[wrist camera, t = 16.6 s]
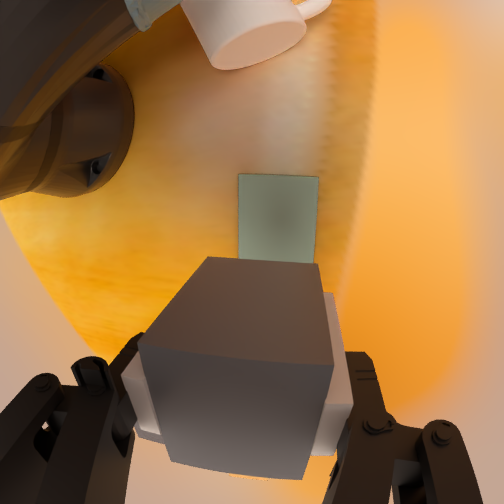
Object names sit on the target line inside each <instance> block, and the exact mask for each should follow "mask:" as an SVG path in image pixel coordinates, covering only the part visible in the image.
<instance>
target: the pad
mask: <svg viewBox="0 0 504 504" xmlns="http://www.w3.org/2000/svg"><path fill="white" fill-rule="evenodd" d="M318 183H319V177H308V176H288V175H260V174H239V175H238V242H239V259H252V260H267V261H283V262H299V263H313V259H314V246H315V233H316V219H317V202H318Z"/></svg>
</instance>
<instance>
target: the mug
mask: <svg viewBox="0 0 504 504" xmlns="http://www.w3.org/2000/svg"><path fill="white" fill-rule="evenodd" d="M331 2H332V0H307V1H305V2H303V3H301V4H298V5H294V4H293V3H292V1H291V0H183V1H182V2H180V5H181V7H182V9H183V11H184V13H185V14H186V16H187V18H188V20H189V22H190V24H191V26H192V28H193V30H194V32H195V34H196V36H197V37H198V39H199V41H200V43H201V45H202V47H203V49H204V51H205V53H206V55H207V57H208V59H209V61H210V63H211V65H212V66H213V67H215V68H217V69H221V70H233V69H239V68H244V67H247V66H251V65H254V64H257V63H260V62H263V61H265V60H268V59H270V58H272V57H274V56H277V55H279V54H280V53H282V52H284V51H286V50H288V49H289V48H291V47H292V46H294V45H295V44H296V43H298V42H299V41H300V40H301V39H302V38H303V36H304V35H305V33H306V30H307V26H306V23H305V22H304V21H305V20H307V19H309V18H312V17H314V16H316V15H318V14H320V13H321V12H323V11H324V10H325V9H327V8H328V6H329V5H330V4H331Z"/></svg>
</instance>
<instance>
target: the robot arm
mask: <svg viewBox="0 0 504 504" xmlns="http://www.w3.org/2000/svg"><path fill="white" fill-rule="evenodd" d="M182 1H183V0H0V200H3V199H6V198H9V197H12V196H15V195H18V194H22V193H25V192H29V191H31V192H36V193H42V194H47V195H52V196H58V197H76V196H79V195H83V194H86V193H90V192H92V191H95V190H96V189H98V188H100V187H101V186H103V185H104V184H105V183H106V182H107V181H109V179H110V178H111V177H112V176H113V175H114V174H115V172H116V171H117V170H118V168H119V167H120V165H121V163H122V161H123V159H124V157H125V155H126V153H127V150H128V147H129V144H130V141H131V137H132V131H133V123H134V109H133V101H132V96H131V93H130V90H129V88H128V85H127V83H126V82H125V80H124V79H123V77H122V76H121V75H120V74H119V73H118V72H117V71H116V70H115V69H114V68H112V67H110V66H108V65H106V64H103V63H100V62H101V61H102V60H103V59H104V58H106V57H107V56H108V55H109V54H110V53H112V52H113V51H114V50H115V49H117V48H118V47H119V46H120V45H122V44H123V43H124V42H125V41H127V40H128V39H129V38H131V37H132V36H133V35H135V34H136V33H137V32H139V31H142V32H145V31H146V30H148V29H149V28H150V27H151V26H152V22H153V21H155V20H156V19H157V18H159V17H160V16H162V15H163V14H164V13H166V12H167V11H169V10H170V9H171V8H173V7H174V6H176V5H177V4H179V3H180V2H182ZM323 294H324V300H325V306H326V312H327V318H328V324H329V331H330V337H331V344H332V351H333V358H334V370H333V374H332V378H331V382H330V386H329V391H328V394H327V398H326V399H325V402H324V406H323V410H322V414H321V418H320V421H319V425H318V429H317V432H316V436H315V439H314V443H313V446H312V449H311V456H312V455H313V456H314V455H315V456H333V455H334V453H335V451H336V449H337V461H336V463H335V465H334V467H333V470H332V472H331V474H330V476H331V478H330V482H329V485H328V488H327V492H326V494H325V497H324V500H323V503H322V504H388V503H389V497H390V490H391V485H392V492H393V500H394V504H483V501H482V498H481V494H480V490H479V487H478V483H477V480H476V477H475V474H474V470H473V467H472V464H471V461H470V458H469V455H468V452H467V450H466V447H465V444H464V441H463V438H462V436H461V433H460V431H459V430H458V428H457V427H456V426H455V425H454V424H453V423H451V422H449V421H446V420H434V421H431V422H429V423H428V424H427V425H426V426H425V427H424V429H420V428H414V427H408V426H404V425H401V424H399V423H397V422H396V420H395V419H394V418H393V416H392V415H391V414H389V413H388V412H386V409H385V405H384V401H383V397H382V394H381V390H380V386H379V382H378V380H377V375H376V372H375V368H374V365H373V361H372V359H371V358H370V357H369V356H368V355H367V354H366V353H365V352H345V351H344V345H343V341H342V335H341V330H340V325H339V321H338V316H337V311H336V306H335V302H334V297H333V293H325V292H323ZM143 334H144V333H143V332H140V333H139V334H137V335H136V336H134V337H132V338H131V339H130V340H129V341H128V343H127V344H126V345H125V347H124V348H123V349H122V350H121V351H120V352H119V354H118V355H117V356H116V357H115V359H114V360H113V361H112V363H111V364H110V365H109V366H108V364H107V362H106V361H105V360H104V359H102V358H100V357H96V356H90V357H85V358H82V359H79V360H78V361H76V362H75V363H74V364H73V365H72V366H71V369H72V372H73V374H74V377H75V379H76V381H77V383H78V386H70V385H61V383H60V381H59V379H58V377H57V376H55V375H54V374H51V373H42V374H39V375H37V376H35V377H34V378H32V379H31V380H30V381H29V382H28V384H27V385H26V386H25V387H24V388H23V389H22V390H21V391H20V392H19V393H18V394H17V395H16V397H15V398H14V399H13V400H12V401H11V402H10V403H9V404H8V405H7V406H6V408H5V409H4V410H3V411H2V412H1V413H0V504H124V503H125V496H126V489H127V482H128V475H129V469H130V463H131V457H132V452H133V445H134V440H135V433H134V430H133V427H134V425H135V423H136V421H138V423H139V426H140V428H141V430H144V431H148V432H151V433H155V434H159V435H161V433H162V431H161V428H160V425H159V422H158V419H157V416H156V413H155V409H154V406H153V402H152V399H151V396H150V392H149V388H148V385H147V381H146V377H145V375H144V371H143V367H142V363H141V358H140V354H139V349H138V345H137V342H138V341H139V339H140V338H141V337H142V336H143ZM45 422H46V423H47V424H48V427H47V428H46V429H43V428H42V426H43V424H44V423H45Z"/></svg>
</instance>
